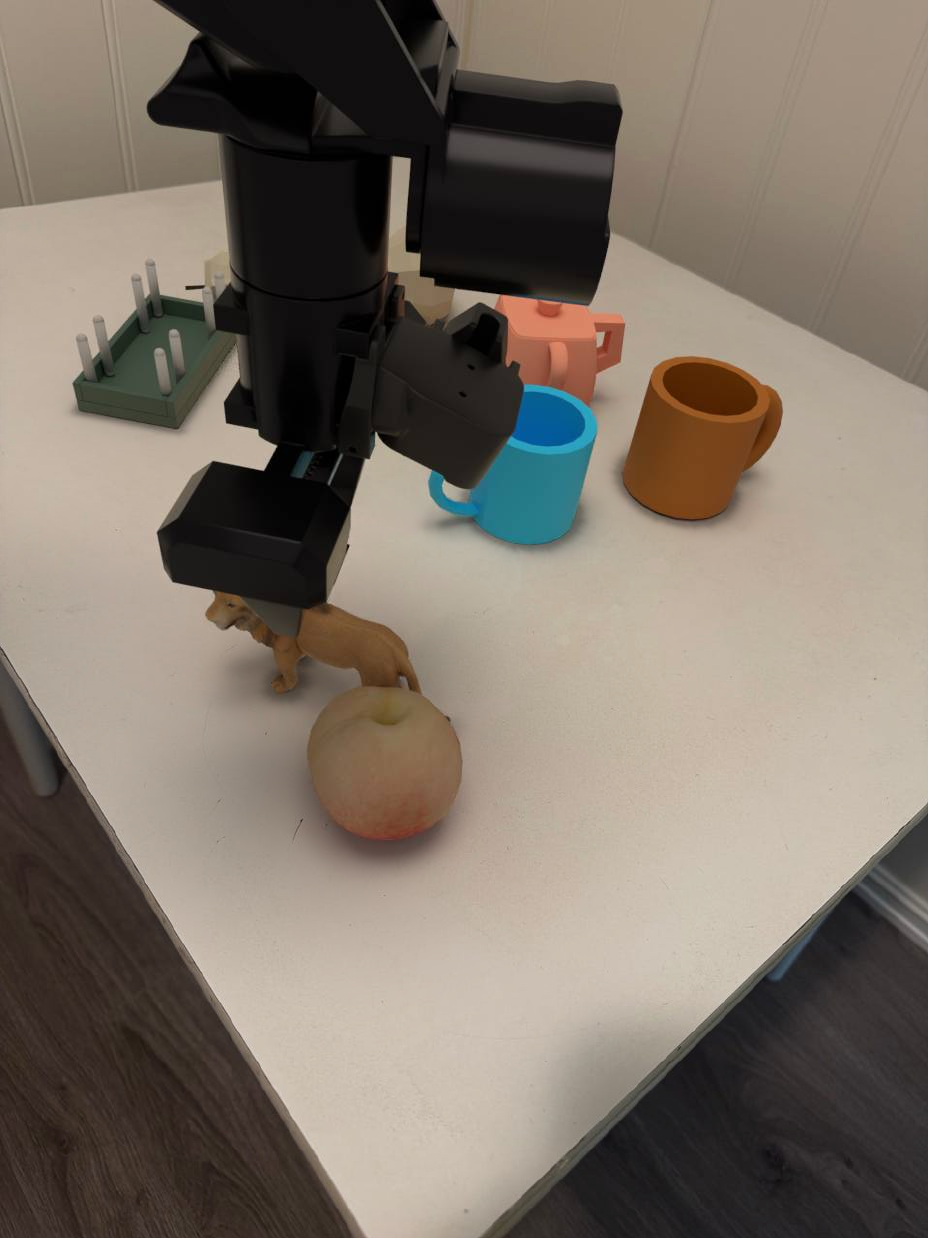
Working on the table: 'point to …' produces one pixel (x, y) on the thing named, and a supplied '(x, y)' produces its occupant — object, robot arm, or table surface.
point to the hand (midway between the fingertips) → (316, 566)
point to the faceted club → (417, 289)
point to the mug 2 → (698, 435)
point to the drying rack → (153, 356)
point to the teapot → (560, 343)
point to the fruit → (384, 762)
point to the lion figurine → (324, 643)
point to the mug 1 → (532, 471)
